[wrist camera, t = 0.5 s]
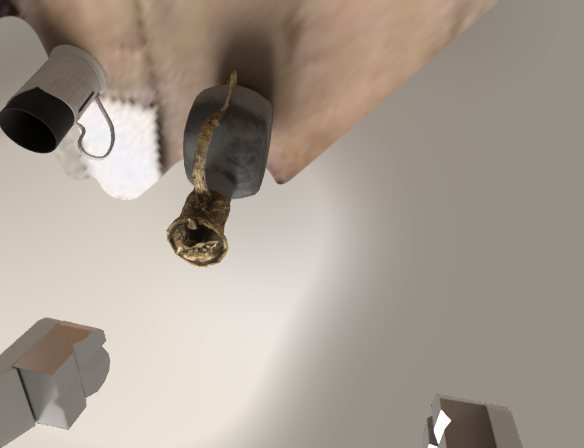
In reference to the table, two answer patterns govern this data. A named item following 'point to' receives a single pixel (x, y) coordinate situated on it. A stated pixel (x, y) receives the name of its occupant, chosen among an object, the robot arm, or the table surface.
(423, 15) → the table surface
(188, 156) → the pitcher
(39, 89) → the glass holder
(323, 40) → the table surface
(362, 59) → the table surface
